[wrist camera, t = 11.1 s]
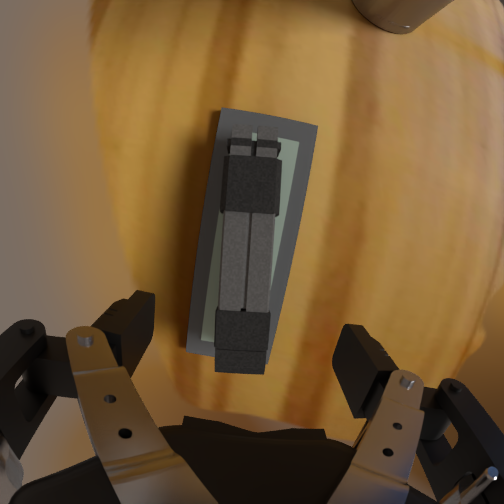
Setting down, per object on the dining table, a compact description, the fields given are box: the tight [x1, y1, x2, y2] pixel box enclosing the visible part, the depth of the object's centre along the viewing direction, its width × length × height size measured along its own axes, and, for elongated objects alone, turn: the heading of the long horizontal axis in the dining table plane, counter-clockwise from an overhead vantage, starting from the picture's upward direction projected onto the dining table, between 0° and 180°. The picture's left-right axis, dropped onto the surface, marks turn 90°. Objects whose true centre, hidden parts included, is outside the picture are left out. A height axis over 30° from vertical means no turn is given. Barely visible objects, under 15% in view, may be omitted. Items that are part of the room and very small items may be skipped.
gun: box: [214, 124, 282, 374], centre depth 25 cm, size 4×20×10 cm, turn 176°
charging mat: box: [186, 108, 318, 364], centre depth 28 cm, size 25×9×1 cm, turn 170°
